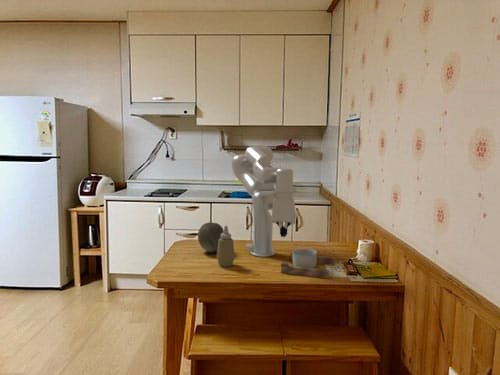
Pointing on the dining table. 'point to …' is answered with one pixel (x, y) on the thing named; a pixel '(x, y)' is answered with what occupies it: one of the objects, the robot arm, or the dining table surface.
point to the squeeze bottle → (225, 249)
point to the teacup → (304, 258)
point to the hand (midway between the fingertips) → (283, 236)
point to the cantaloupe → (210, 236)
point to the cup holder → (309, 271)
